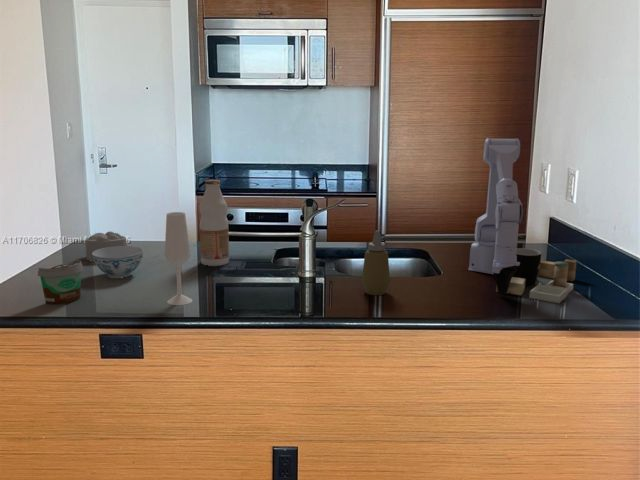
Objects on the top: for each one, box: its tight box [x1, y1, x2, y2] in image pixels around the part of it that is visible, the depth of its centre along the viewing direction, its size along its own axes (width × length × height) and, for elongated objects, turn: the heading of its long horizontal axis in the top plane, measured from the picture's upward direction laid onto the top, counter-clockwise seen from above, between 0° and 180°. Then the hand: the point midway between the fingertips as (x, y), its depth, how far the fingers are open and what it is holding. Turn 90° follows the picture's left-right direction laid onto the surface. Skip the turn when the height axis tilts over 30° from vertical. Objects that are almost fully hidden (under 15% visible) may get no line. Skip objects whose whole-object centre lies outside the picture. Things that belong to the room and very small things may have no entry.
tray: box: [528, 284, 568, 304], centre depth 164 cm, size 8×8×2 cm
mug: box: [511, 247, 542, 288], centre depth 177 cm, size 12×9×10 cm
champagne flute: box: [164, 211, 193, 306], centre depth 155 cm, size 7×7×24 cm
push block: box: [495, 277, 526, 296], centre depth 170 cm, size 7×6×4 cm
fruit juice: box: [198, 179, 230, 267], centre depth 194 cm, size 9×9×28 cm
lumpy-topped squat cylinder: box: [84, 231, 128, 261], centre depth 202 cm, size 10×13×9 cm
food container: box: [37, 258, 84, 305], centre depth 157 cm, size 12×6×10 cm, turn 148°
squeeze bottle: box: [361, 230, 391, 296], centre depth 165 cm, size 8×8×18 cm
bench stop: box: [537, 258, 578, 282], centre depth 185 cm, size 17×3×6 cm, turn 54°
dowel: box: [553, 261, 569, 288], centre depth 171 cm, size 4×4×8 cm
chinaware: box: [92, 245, 144, 279], centre depth 181 cm, size 15×15×8 cm
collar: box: [545, 279, 574, 295], centre depth 171 cm, size 6×6×2 cm
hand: (502, 292), depth 164 cm, fingers closed
